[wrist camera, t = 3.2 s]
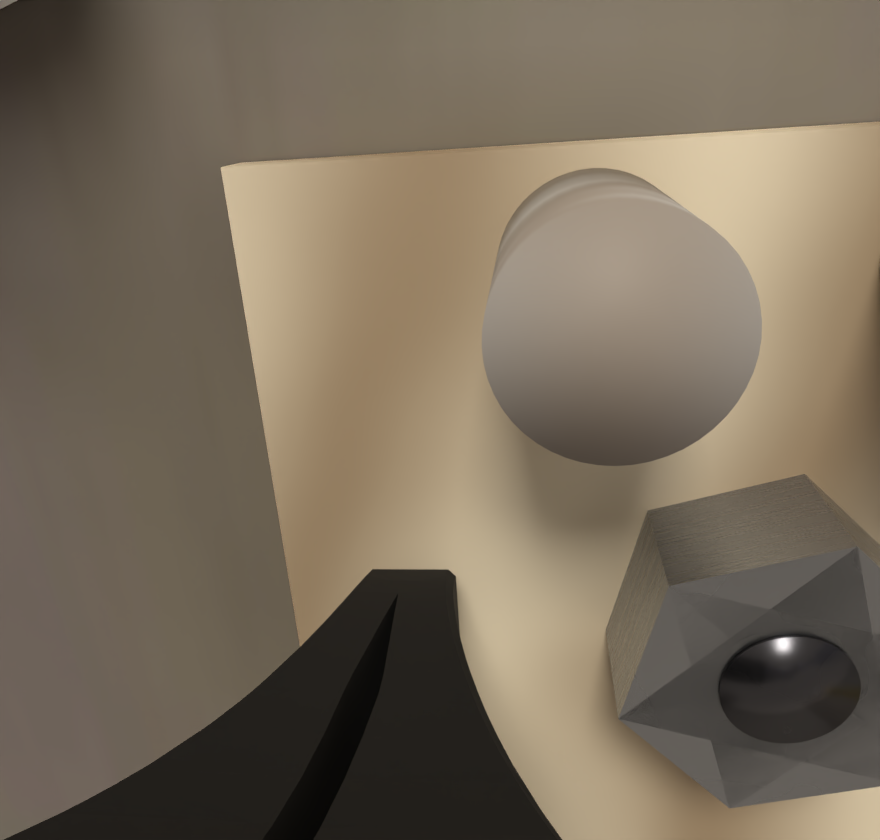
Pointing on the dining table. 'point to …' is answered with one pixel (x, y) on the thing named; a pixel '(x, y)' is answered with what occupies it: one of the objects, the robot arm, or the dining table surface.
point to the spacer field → (563, 403)
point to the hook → (6, 3)
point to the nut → (754, 643)
